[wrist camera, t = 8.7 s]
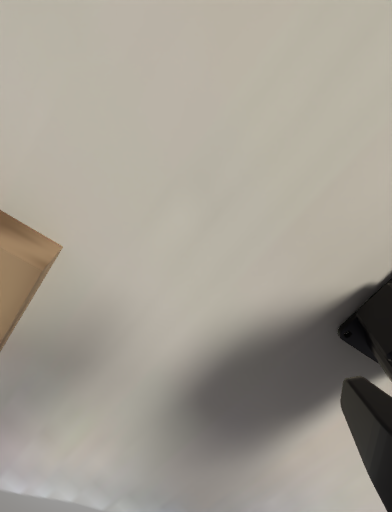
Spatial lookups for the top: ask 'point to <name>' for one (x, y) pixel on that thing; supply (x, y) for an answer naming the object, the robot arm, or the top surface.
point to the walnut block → (20, 269)
